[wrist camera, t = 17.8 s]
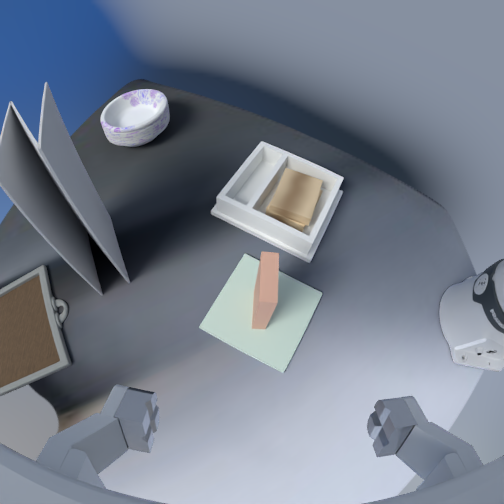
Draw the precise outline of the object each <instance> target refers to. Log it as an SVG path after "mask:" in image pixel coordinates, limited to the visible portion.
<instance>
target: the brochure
mask: <svg viewBox="0 0 504 504" xmlns="http://www.w3.org/2000/svg"><path fill="white" fill-rule="evenodd" d="M0 186H1V188H2V189H3V190H4V192H5V193H6V194H7V195H8V197H9V198H10V199H11V200H12V202H13V203H14V204H15V205H16V207H17V208H18V209H19V210H20V211H21V213H22V214H23V215H24V216H25V217H26V218H27V220H28V221H29V222H30V223H31V224H32V225H33V226H34V228H35V229H36V230H37V231H38V232H39V233H40V234H41V235H42V237H43V238H44V239H45V240H46V241H47V242H48V243H49V244H50V245H51V246H52V247H53V248H54V249H55V251H56V252H57V253H58V254H59V255H60V256H61V257H62V258H63V259H64V260H65V261H66V262H67V263H68V264H69V265H70V266H71V267H72V268H73V269H74V270H75V271H76V272H77V273H78V274H79V275H80V276H81V277H82V278H83V279H84V280H85V281H86V282H88V283H89V284H90V285H91V286H92V287H93V288H94V289H95V290H96V291H97V292H98V293H99V294H100V295H103V293H102V290H101V286H100V283H99V279H98V275H97V271H96V267H95V264H94V260H93V255H92V251H91V247H90V242H89V238H88V233H89V235H90V236H91V237H92V238H93V240H94V241H95V242H96V244H97V245H98V246H99V248H100V249H101V250H102V251H103V253H104V254H105V255H106V256H107V258H108V259H109V260H110V261H111V263H112V264H113V265H114V266H115V268H116V269H117V270H118V271H119V272H120V274H121V275H122V276H123V277H124V278H125V280H126V281H127V282H128V283H130V280H129V277H128V274H127V271H126V268H125V265H124V261H123V258H122V255H121V252H120V248H119V245H118V242H117V238H116V235H115V231H114V228H113V224H112V220H111V217H110V215H109V213H108V212H107V210H106V208H105V206H104V204H103V202H102V201H101V199H100V197H99V195H98V193H97V191H96V189H95V187H94V185H93V183H92V182H91V180H90V178H89V176H88V174H87V172H86V170H85V168H84V166H83V164H82V162H81V159H80V157H79V155H78V153H77V151H76V149H75V147H74V145H73V143H72V140H71V138H70V136H69V134H68V132H67V129H66V127H65V125H64V122H63V120H62V118H61V115H60V113H59V111H58V109H57V106H56V103H55V101H54V98H53V96H52V93H51V91H50V89H49V86H48V83H47V82H46V83H45V87H44V93H43V101H42V108H41V118H40V128H39V142H38V143H37V141H36V140H35V138H34V137H33V135H32V134H31V132H30V131H29V129H28V128H27V126H26V124H25V123H24V121H23V119H22V118H21V116H20V114H19V113H18V111H17V109H16V108H15V106H14V104H13V103H12V101H11V102H10V103H9V106H8V110H7V113H6V117H5V120H4V124H3V128H2V132H1V136H0ZM87 232H88V233H87Z"/></svg>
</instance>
